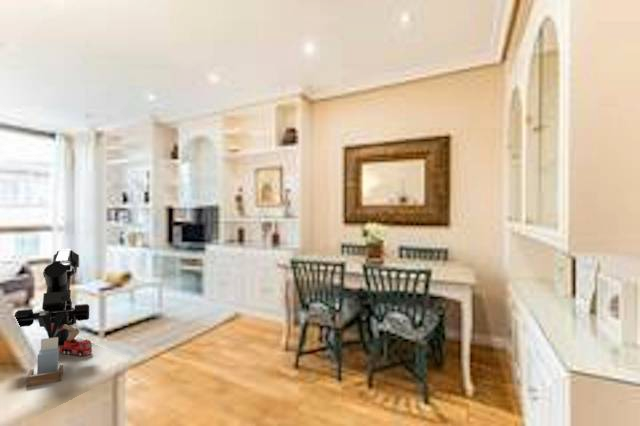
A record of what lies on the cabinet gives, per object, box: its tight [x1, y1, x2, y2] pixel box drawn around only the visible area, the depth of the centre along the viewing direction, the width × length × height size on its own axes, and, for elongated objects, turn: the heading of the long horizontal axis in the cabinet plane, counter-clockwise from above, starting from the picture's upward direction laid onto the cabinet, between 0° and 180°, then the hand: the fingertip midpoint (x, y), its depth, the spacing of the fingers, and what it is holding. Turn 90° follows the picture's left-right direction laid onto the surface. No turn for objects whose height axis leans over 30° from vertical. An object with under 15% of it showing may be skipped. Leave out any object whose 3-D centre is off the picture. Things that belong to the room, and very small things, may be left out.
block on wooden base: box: [36, 337, 60, 374], centre depth 105 cm, size 4×4×9 cm
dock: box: [25, 364, 64, 388], centre depth 104 cm, size 11×8×2 cm, turn 30°
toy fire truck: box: [51, 324, 93, 357], centre depth 120 cm, size 3×14×10 cm, turn 78°
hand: (51, 339), depth 109 cm, fingers closed
